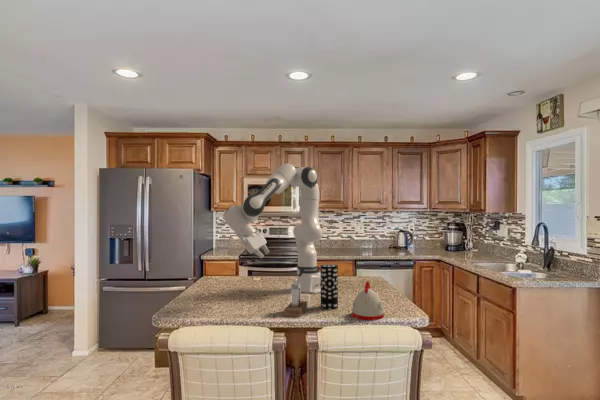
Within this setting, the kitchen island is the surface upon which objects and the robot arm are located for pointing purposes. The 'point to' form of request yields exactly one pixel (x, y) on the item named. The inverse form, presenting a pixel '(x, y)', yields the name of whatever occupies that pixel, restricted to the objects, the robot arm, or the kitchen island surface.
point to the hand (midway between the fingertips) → (265, 255)
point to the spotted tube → (329, 286)
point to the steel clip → (296, 294)
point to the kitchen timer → (367, 305)
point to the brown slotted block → (295, 310)
